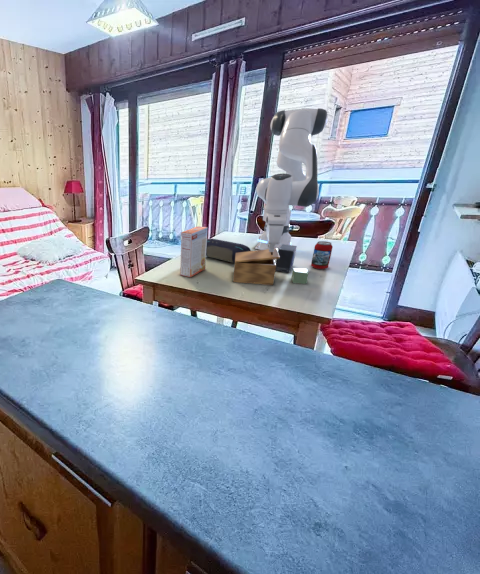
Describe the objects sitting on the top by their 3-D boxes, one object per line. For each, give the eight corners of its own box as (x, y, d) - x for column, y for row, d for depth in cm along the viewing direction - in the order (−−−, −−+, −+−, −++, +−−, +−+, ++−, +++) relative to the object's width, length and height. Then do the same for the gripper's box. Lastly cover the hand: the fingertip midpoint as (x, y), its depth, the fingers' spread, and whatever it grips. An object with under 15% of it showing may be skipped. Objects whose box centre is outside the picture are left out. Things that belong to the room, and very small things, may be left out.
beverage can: (309, 268, 152) (314, 243, 148) (312, 264, 157) (317, 240, 152) (326, 271, 148) (331, 245, 143) (329, 266, 152) (334, 242, 148)
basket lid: (276, 250, 142) (276, 238, 141) (279, 258, 131) (279, 246, 130) (235, 254, 149) (234, 243, 148) (235, 262, 139) (234, 251, 137)
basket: (270, 275, 147) (273, 256, 144) (273, 285, 136) (276, 265, 133) (233, 272, 153) (235, 254, 149) (232, 281, 142) (235, 262, 139)
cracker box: (194, 267, 162) (196, 225, 154) (205, 269, 158) (208, 227, 150) (178, 275, 153) (180, 231, 146) (190, 277, 149) (192, 233, 142)
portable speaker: (197, 257, 177) (199, 239, 174) (209, 253, 183) (210, 235, 179) (240, 267, 158) (242, 247, 155) (251, 263, 164) (254, 243, 160)
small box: (289, 273, 148) (293, 250, 144) (273, 270, 152) (277, 249, 148) (293, 266, 156) (297, 245, 152) (278, 264, 159) (281, 243, 155)
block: (291, 278, 142) (293, 268, 140) (304, 279, 140) (306, 268, 138) (292, 282, 137) (294, 271, 136) (306, 284, 136) (308, 272, 134)
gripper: (265, 211, 142) (260, 242, 147) (268, 220, 125) (263, 255, 130) (281, 211, 140) (276, 243, 145) (287, 221, 122) (281, 256, 127)
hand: (270, 249), depth 137 cm, fingers closed on basket lid, 6 cm apart
